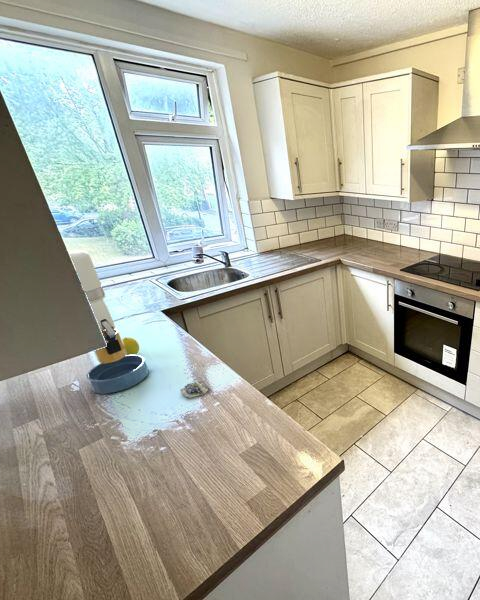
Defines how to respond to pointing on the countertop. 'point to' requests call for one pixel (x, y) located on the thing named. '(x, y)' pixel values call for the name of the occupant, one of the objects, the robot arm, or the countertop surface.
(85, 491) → the countertop surface
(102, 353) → the cup
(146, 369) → the bowl
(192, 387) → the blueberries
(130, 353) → the lemon
